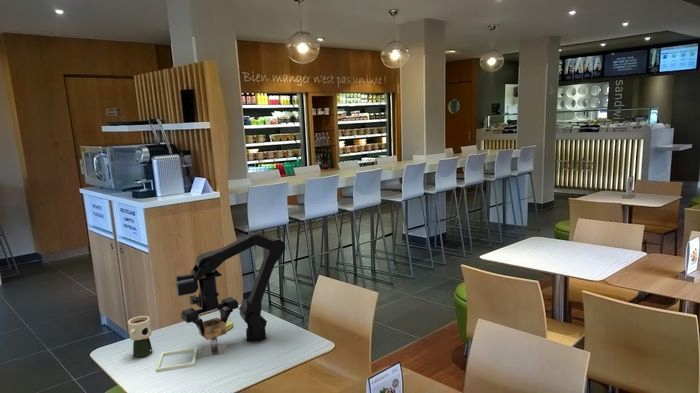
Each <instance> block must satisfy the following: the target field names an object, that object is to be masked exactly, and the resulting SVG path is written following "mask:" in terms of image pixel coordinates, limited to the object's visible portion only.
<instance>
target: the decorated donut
mask: <svg viewBox="0 0 700 393" xmlns="http://www.w3.org/2000/svg"><path fill="white" fill-rule="evenodd" d="M218 318H219V319H220V320H221V317H218ZM233 326H234V322H233V319H232V318H229V317H228V319H227V322H226V332H228V331H230V330H231V329H232V328H233Z"/></svg>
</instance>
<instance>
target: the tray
mask: <svg viewBox="0 0 700 393" xmlns="http://www.w3.org/2000/svg"><path fill="white" fill-rule="evenodd" d="M186 353H188V354H189V353H193V355H192V361H191V362H186V363H181V364H173V365H169V366H161V365H162V363H163V360H164V357H168V356H173V355H180V354H186ZM197 355H198V347H197V346H196V347H195V346H194V347H189V348H183V349H176V350H169V351H162V352H161V353H160V356H159V358H158V360H157V361H158V362H157V364H156V367H155V373H159V372H166V371H167V372H168V371H174V370H179V369H185V368H192V367H195V366H196V361H197Z"/></svg>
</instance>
